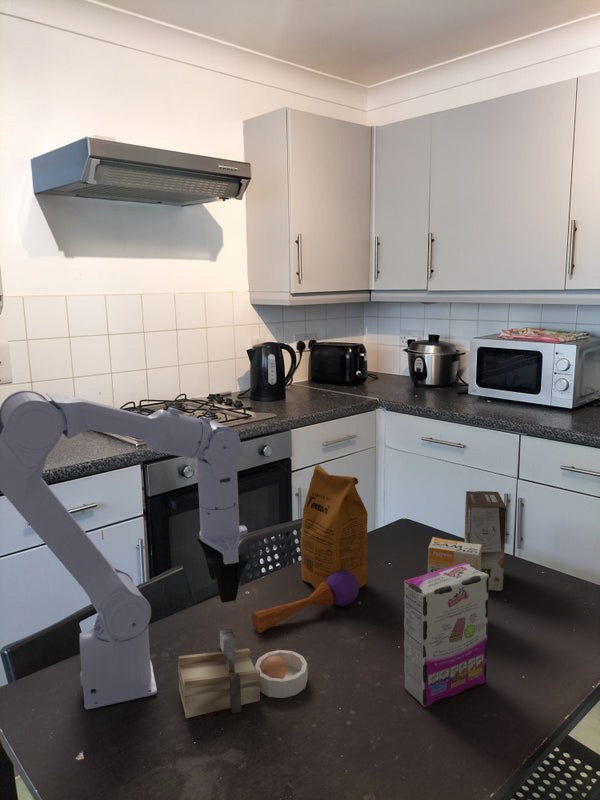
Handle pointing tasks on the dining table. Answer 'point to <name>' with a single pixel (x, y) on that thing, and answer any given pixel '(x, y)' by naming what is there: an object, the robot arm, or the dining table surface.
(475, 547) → the supplement box
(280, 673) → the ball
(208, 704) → the wooden box
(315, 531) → the coffee package
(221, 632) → the gate
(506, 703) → the dining table surface
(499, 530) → the coffee box
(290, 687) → the white round shallow bowl
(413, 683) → the candy bar box
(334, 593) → the kendama
